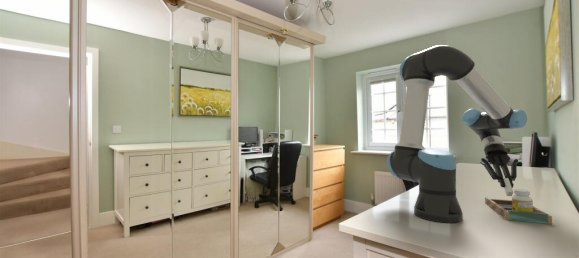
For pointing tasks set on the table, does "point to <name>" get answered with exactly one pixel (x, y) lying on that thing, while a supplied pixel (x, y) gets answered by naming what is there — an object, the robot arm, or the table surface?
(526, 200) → the supplement bottle
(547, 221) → the wooden tray
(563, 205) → the table surface
